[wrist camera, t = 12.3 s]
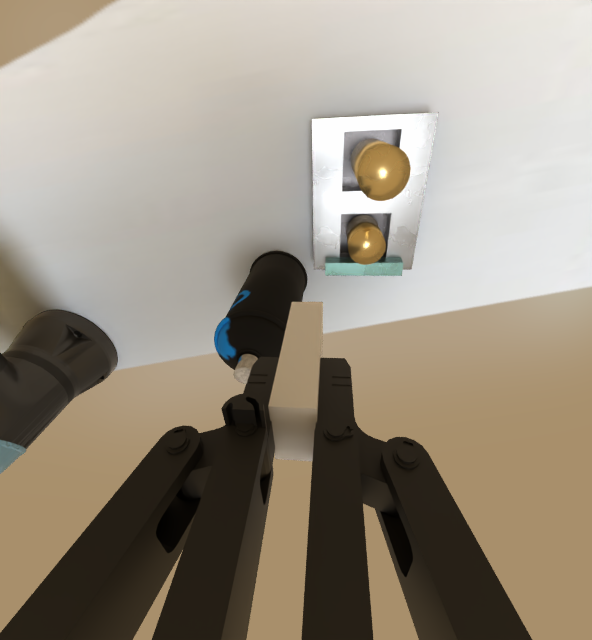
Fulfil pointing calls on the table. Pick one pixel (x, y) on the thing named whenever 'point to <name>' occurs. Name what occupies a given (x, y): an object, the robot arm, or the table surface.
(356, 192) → the jig
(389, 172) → the brass rod
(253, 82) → the table surface
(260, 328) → the aerosol can
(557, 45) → the table surface
